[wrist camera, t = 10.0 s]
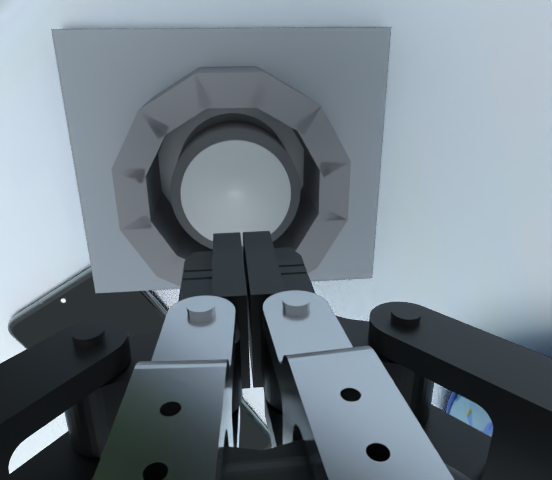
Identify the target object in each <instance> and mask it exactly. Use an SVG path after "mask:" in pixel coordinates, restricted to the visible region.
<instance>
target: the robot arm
mask: <svg viewBox="0 0 552 480" xmlns="http://www.w3.org/2000/svg"><path fill="white" fill-rule="evenodd" d="M243 260H244V262H243ZM249 347H250V357H251V368H252V378H253V388H255V387H264V395H265V417H266V422H267V426H268V430H269V435H270V439H271V443H272V448H270V449H266V450H255V449H246V448H239V432H240V404H241V402H242V389H244V388H250V367H249ZM434 382H435V383H437V384H439V385H441V386H443V387H445V388H447V389H448V390H450V391H452V392H454V393H456V394H458V395H460V396H462V397H464V398H466V399H468V400H470V401H472V402H474V403H476V404H478V405H479V406H480V407H482V408H483V409H484V410H485V411H486V413H487V414H488V415H489V417H490V419H491V421H492V424H493V432H492V437H490V436H488V435H487V434H485V433H483V432H481V431H479V430H477V429H476V428H474V427H472V426H470V425H468V424H466V423H465V422H463V421H461V420H459V419H457V418H455V417H454V416H452V415H450V414H448V413H446V412H444V411H443V410H441V409H439V408H437V407H435V406H433V405H432V404H431V400H432V393H433V386H434ZM63 412H65V416H66V421H67V426H68V430H69V431H68V432H66V433H65V434H64V435H62V436H61V437H60V438H58V439H57V440H55V441H54V442H53V443H51V444H50V445H49V446H47V447H46V448H45V449H43V450H42V451H40V452H39V453H38V454H36V455H35V456H34V457H32V458H31V459H30V460H28V461H27V462H26V463H24V464H23V465H21V466H20V467H19V468H17V469H16V470H15V471H13V472H12V473H11V474H9V470H8V465H9V461H10V458H11V456H12V454H13V452H14V451H15V449H16V448H17V447H18V445H19V444H20V443H21V442H22V441H24V440H25V439H26V438H27V437H29V436H30V435H32V434H33V433H35V432H36V431H38V430H39V429H40V428H42V427H43V426H45V425H46V424H48V423H49V422H50V421H52V420H53V419H55V418H56V417H58V416H59V415H61V414H62V413H63ZM0 480H552V358H550V357H547V356H545V355H542V354H540V353H537V352H535V351H532V350H530V349H527V348H525V347H522V346H520V345H517V344H515V343H512V342H510V341H507V340H505V339H502V338H500V337H498V336H495V335H493V334H490V333H488V332H485V331H483V330H480V329H478V328H475V327H473V326H470V325H468V324H465V323H463V322H460V321H458V320H455V319H453V318H450V317H448V316H445V315H443V314H441V313H438V312H436V311H433V310H431V309H428V308H426V307H423V306H420V305H417V304H413V303H407V302H389V303H384V304H381V305H379V306H377V307H375V308H374V309H373V310H372V311H371V313H370V320H369V322H368V321H359V320H352V319H346V318H342V317H339V316H336V315H335V314H334V312H333V310H332V309H331V307H330V305H329V303H328V302H327V301H326V300H325V299H324V298H323V297H321V296H319V295H317V294H315V291H314V289H313V286H312V283H311V281H310V278H309V275H308V274H307V270H306V267H305V266H304V262H303V259H302V257H301V255H300V254H299V253H297V252H296V251H295V250H293V249H292V248H290V247H286V248H274V245H273V242H272V238H271V234H270V231H255V232H243V252H242V243H241V234H240V232H234V233H213V251H206V252H194V253H192V254H191V255H190V256H189V257H188V258H187V259H186V260H185V262H184V268H183V275H182V281H181V288H180V294H179V301H178V302H177V303H176V304H174V305H173V306H172V307H171V308H170V309H169V310H168V312H167V315H166V318H165V321H164V324H163V326H162V327H160V328H158V329H156V330H153V331H150V332H147V333H143V334H139V335H135V336H131V337H128V331H127V328H126V327H125V326H124V325H123V324H122V323H120V322H117V321H114V320H109V319H94V320H88V321H83V322H80V323H76V324H74V325H71V326H69V327H67V328H65V329H63V330H61V331H60V332H58V333H56V334H54V335H52V336H50V337H48V338H47V339H45V340H43V341H41V342H39V343H37V344H36V345H34V346H32V347H30V348H28V349H26V350H25V351H23V352H21V353H19V354H17V355H15V356H14V357H12V358H10V359H8V360H6V361H4V362H2V363H1V364H0Z"/></svg>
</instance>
